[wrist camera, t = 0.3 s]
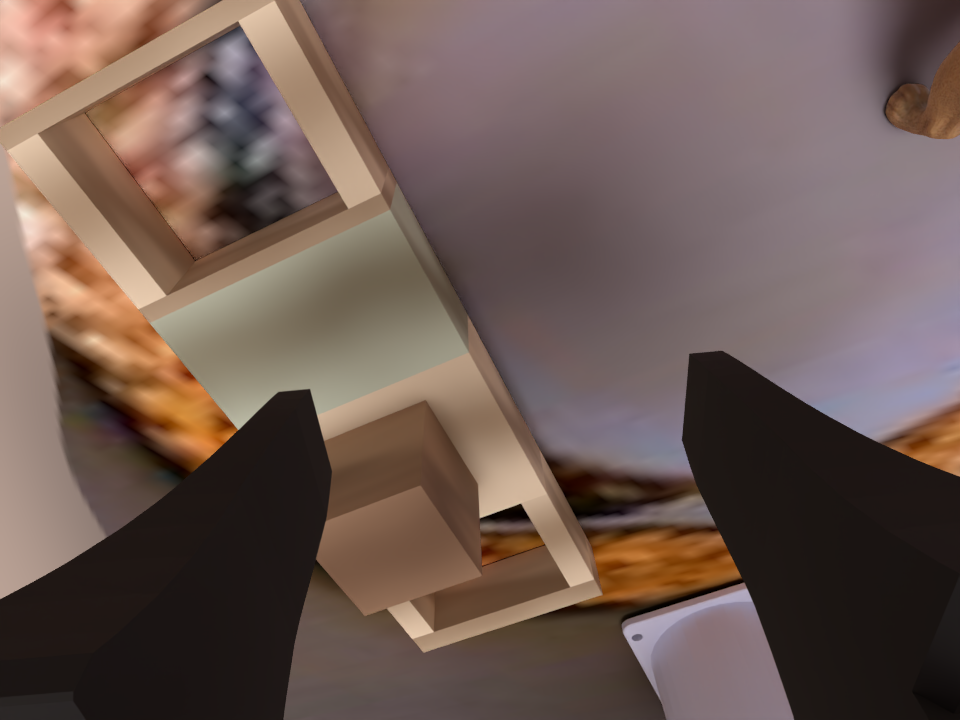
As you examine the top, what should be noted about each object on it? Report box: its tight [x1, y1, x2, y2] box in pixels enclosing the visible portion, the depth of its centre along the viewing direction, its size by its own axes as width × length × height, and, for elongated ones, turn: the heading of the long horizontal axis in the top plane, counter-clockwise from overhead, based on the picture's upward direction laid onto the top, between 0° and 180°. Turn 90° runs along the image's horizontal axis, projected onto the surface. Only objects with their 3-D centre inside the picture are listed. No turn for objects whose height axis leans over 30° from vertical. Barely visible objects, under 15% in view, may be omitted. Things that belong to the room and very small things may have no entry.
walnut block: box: [316, 400, 482, 616], centre depth 21 cm, size 4×4×4 cm
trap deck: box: [0, 0, 603, 652], centre depth 23 cm, size 24×8×2 cm, turn 25°
